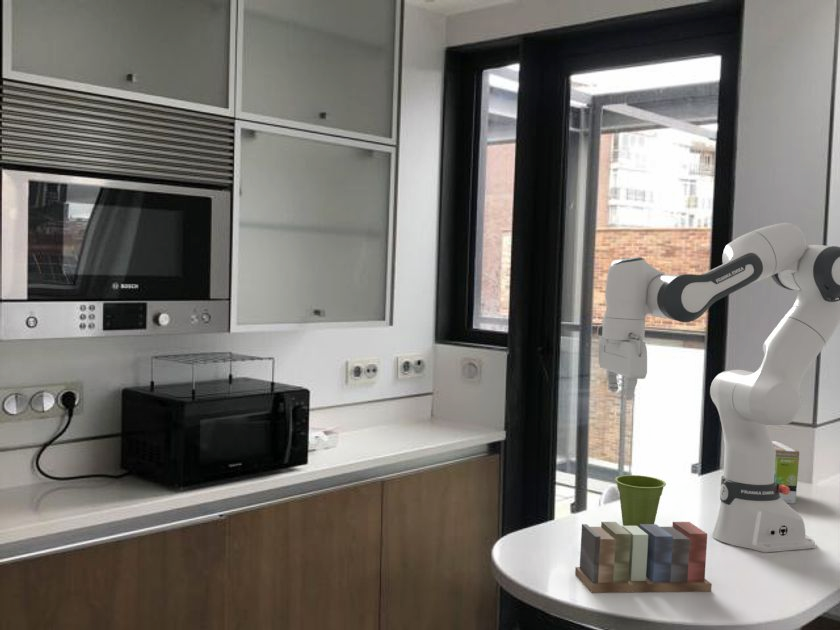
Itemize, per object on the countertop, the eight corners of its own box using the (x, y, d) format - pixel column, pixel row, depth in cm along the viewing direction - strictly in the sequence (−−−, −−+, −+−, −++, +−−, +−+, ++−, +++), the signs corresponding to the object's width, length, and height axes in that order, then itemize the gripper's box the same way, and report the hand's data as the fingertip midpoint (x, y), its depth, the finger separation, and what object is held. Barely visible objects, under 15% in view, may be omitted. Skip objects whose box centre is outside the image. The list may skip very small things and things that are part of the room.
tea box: (797, 504, 242) (800, 450, 241) (760, 502, 242) (763, 449, 241) (775, 490, 257) (779, 439, 256) (741, 489, 257) (744, 438, 256)
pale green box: (634, 569, 178) (636, 525, 177) (645, 580, 172) (648, 534, 171) (619, 570, 177) (622, 525, 177) (630, 580, 171) (633, 534, 171)
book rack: (688, 573, 181) (691, 520, 181) (711, 591, 171) (714, 535, 171) (575, 574, 178) (578, 520, 177) (591, 592, 168) (594, 535, 167)
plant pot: (602, 522, 216) (605, 476, 216) (642, 518, 221) (644, 473, 220) (633, 536, 205) (636, 488, 205) (673, 532, 210) (676, 485, 210)
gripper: (656, 335, 184) (652, 401, 185) (621, 328, 204) (617, 388, 205) (627, 334, 183) (624, 401, 184) (594, 327, 204) (591, 387, 204)
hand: (620, 394), depth 195 cm, fingers open, 8 cm apart
